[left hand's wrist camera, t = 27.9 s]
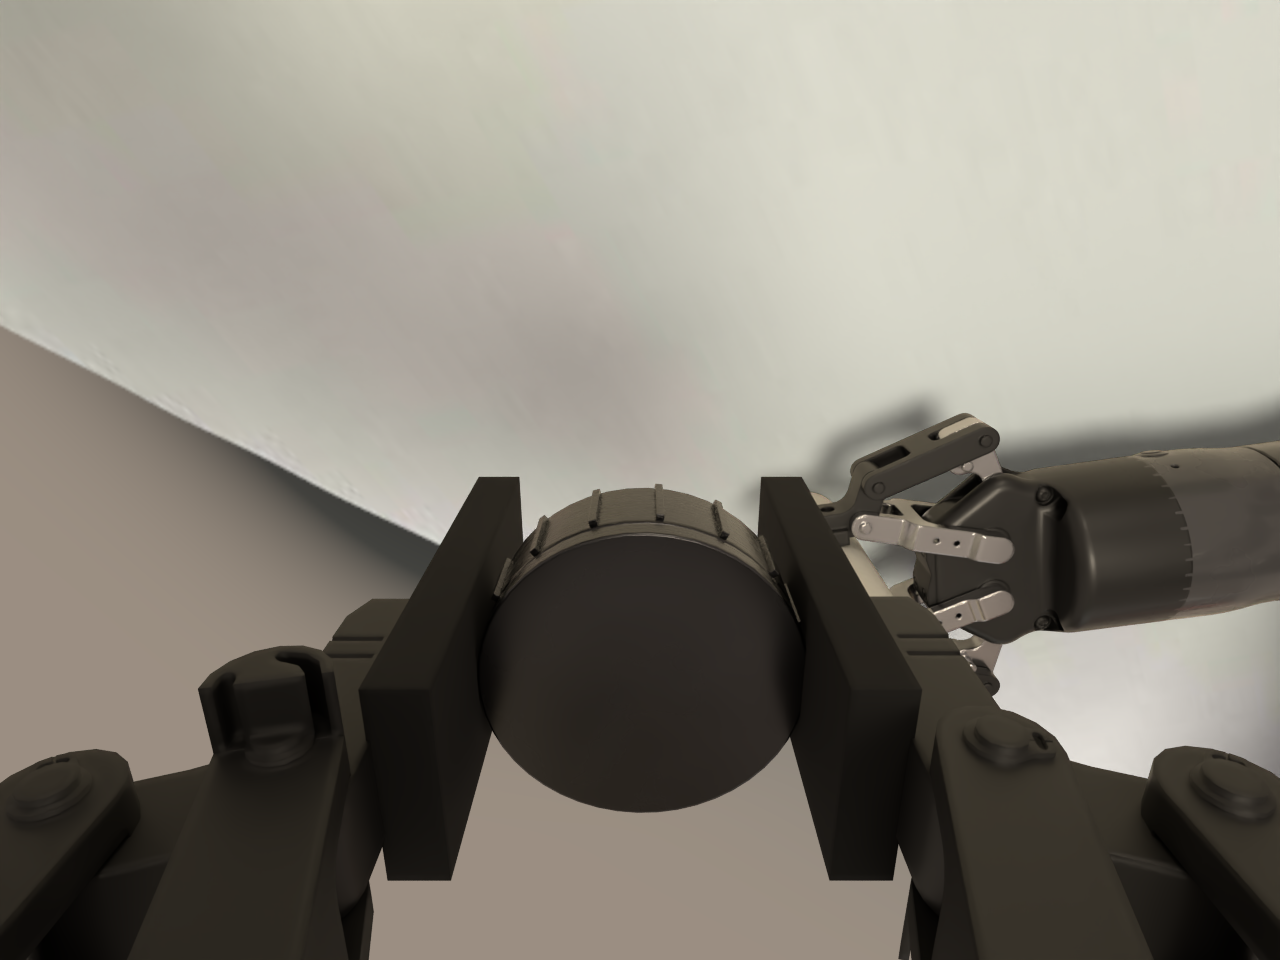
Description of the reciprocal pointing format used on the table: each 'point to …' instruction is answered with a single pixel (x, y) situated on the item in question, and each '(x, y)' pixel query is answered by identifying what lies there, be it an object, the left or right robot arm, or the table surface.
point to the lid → (642, 652)
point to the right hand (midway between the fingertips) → (769, 586)
